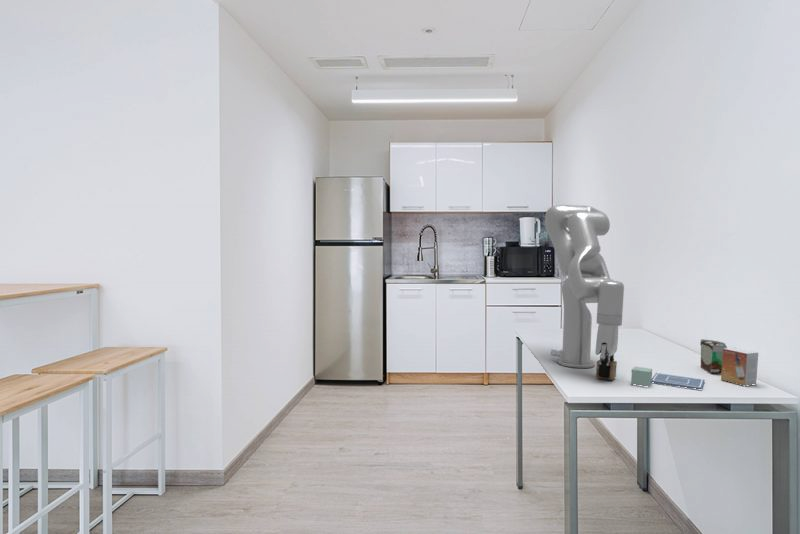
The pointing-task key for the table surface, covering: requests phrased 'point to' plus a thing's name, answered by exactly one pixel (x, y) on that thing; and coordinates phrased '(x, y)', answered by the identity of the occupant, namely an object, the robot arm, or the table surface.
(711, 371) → the food container
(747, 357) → the small box
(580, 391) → the table surface
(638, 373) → the sage block
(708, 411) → the table surface
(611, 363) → the walnut block
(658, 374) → the board
